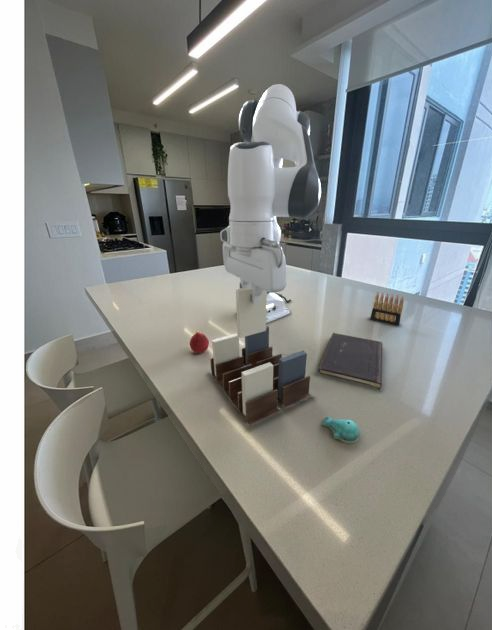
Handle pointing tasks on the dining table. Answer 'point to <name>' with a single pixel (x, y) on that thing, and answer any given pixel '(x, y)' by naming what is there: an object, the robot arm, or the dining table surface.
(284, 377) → the grey book
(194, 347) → the onion
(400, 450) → the dining table surface
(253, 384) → the cream book
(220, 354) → the cream book
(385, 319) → the ammunition clip
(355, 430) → the whale figurine
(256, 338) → the grey book
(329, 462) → the dining table surface
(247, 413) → the book rack
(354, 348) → the hardcover book
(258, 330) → the cream book
